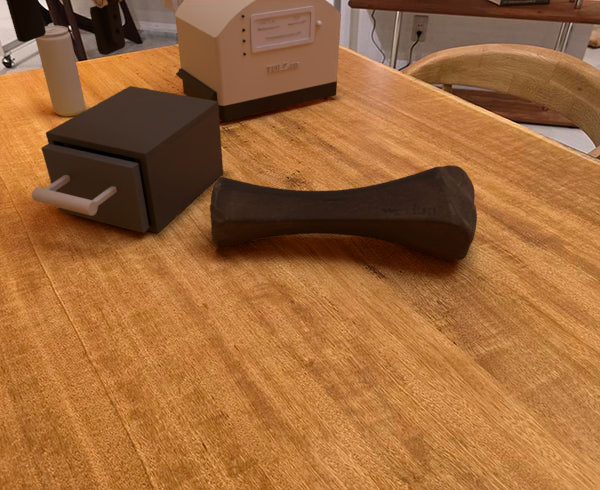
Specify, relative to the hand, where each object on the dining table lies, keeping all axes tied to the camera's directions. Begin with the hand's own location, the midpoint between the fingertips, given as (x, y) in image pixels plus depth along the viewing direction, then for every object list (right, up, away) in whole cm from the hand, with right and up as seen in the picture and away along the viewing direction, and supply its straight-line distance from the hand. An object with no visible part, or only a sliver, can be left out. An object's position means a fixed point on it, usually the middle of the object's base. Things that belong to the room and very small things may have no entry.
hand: (71, 44), depth 56 cm
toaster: (+12, +12, +45) cm, 48 cm away
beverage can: (-14, +5, +36) cm, 39 cm away
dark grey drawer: (+1, -13, +13) cm, 18 cm away
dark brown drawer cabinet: (+3, -11, +17) cm, 20 cm away
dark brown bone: (+27, -19, +8) cm, 34 cm away
